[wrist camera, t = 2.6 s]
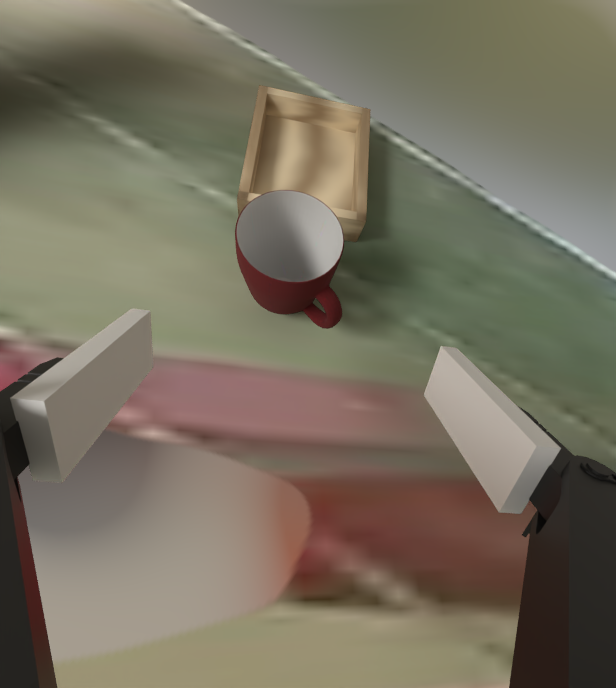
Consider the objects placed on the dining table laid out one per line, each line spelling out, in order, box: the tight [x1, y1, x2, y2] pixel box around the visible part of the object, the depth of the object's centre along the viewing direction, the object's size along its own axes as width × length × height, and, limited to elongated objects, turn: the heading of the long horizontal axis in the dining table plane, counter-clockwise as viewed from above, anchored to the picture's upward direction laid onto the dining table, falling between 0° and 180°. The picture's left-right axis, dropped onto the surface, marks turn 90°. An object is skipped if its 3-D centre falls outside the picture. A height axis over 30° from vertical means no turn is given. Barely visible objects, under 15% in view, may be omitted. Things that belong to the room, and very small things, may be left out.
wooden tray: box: [237, 85, 370, 242], centre depth 37 cm, size 13×16×4 cm
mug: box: [235, 190, 344, 329], centre depth 29 cm, size 11×8×10 cm
